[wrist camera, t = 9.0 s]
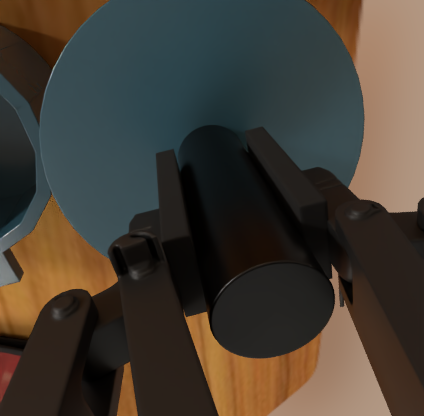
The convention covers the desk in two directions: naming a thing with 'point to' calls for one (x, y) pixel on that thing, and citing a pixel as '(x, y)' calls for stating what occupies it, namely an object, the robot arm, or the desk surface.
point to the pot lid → (208, 145)
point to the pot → (20, 147)
